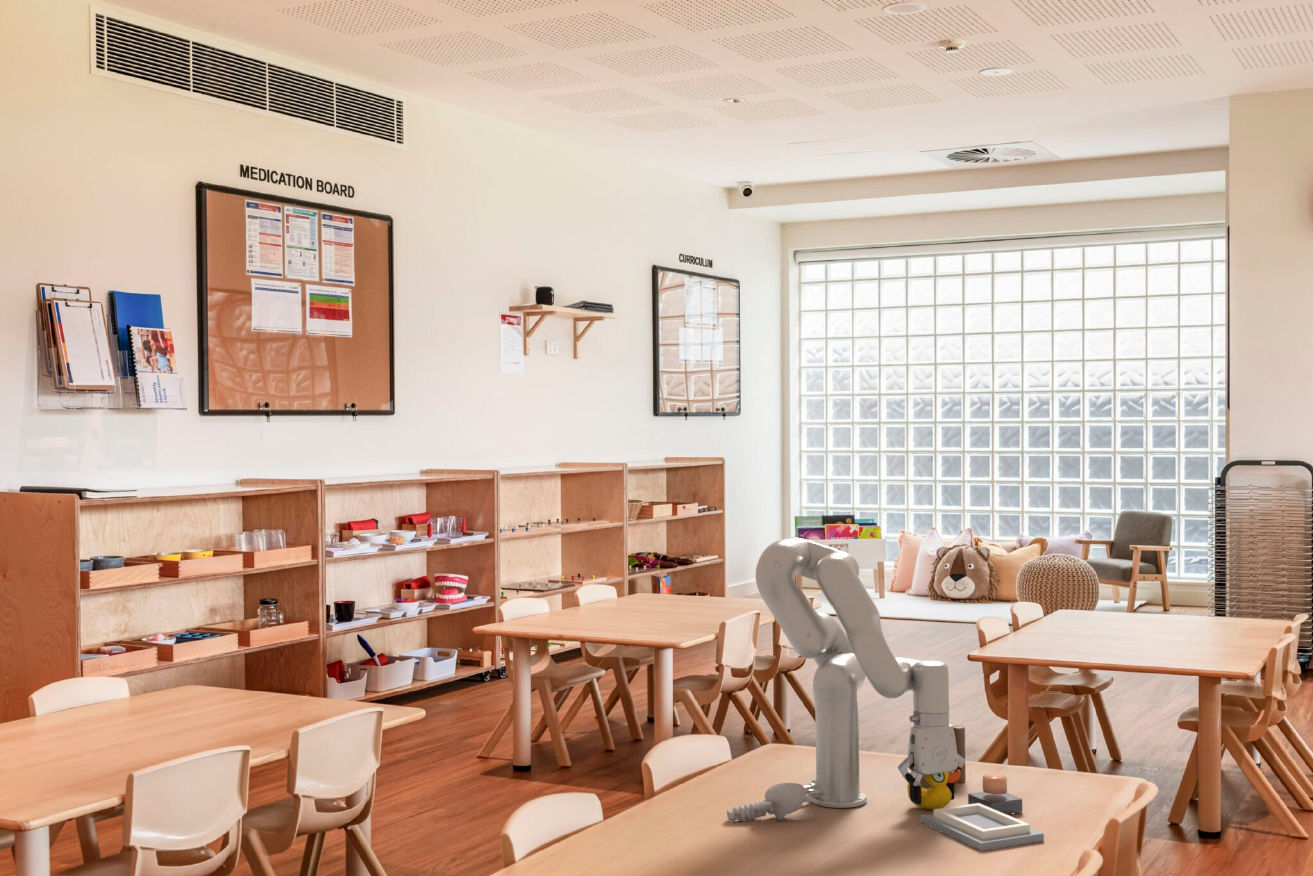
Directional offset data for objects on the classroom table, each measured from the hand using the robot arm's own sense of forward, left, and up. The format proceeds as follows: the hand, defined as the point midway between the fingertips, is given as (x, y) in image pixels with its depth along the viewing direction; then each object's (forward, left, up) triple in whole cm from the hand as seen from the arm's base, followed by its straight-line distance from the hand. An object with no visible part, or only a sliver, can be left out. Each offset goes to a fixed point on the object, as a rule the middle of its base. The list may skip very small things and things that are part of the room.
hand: (932, 800), depth 267 cm
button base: (+12, -6, -2) cm, 13 cm away
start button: (+12, -6, +2) cm, 13 cm away
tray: (0, -17, -2) cm, 17 cm away
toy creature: (-34, +8, -2) cm, 35 cm away
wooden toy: (+13, +14, -2) cm, 19 cm away
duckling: (0, 0, -2) cm, 2 cm away
